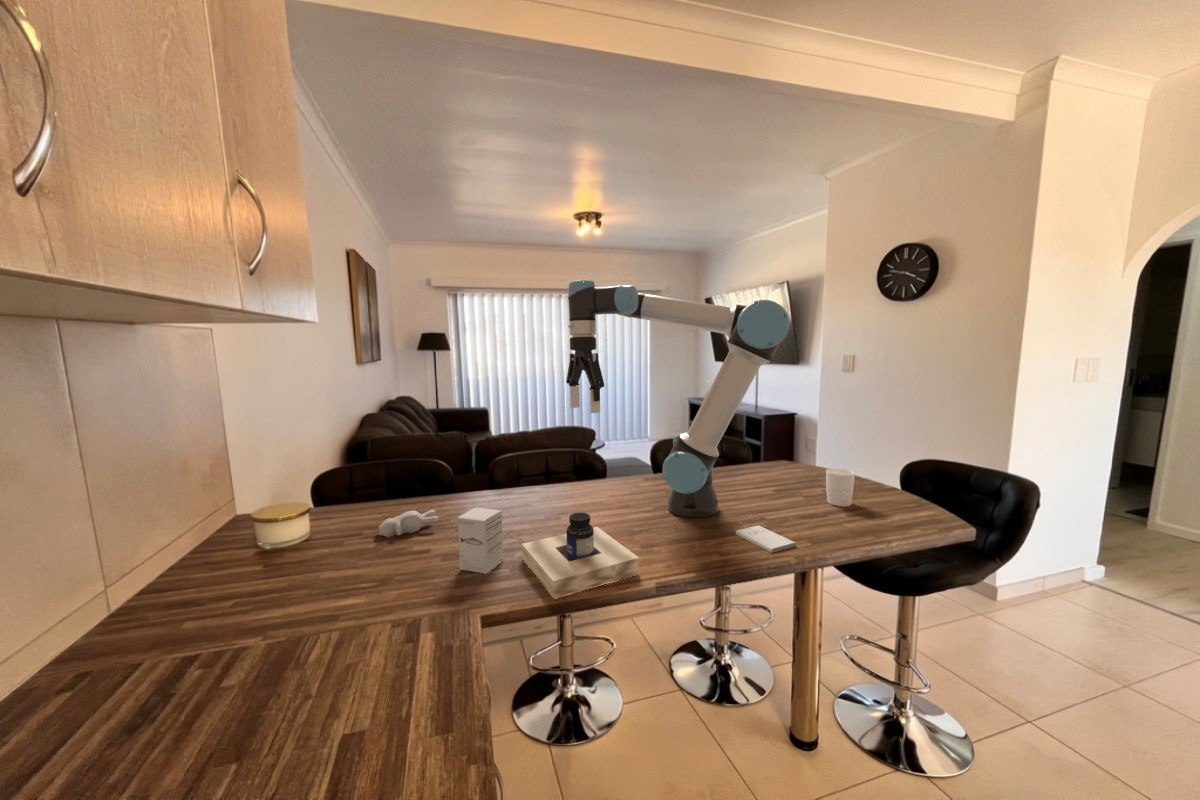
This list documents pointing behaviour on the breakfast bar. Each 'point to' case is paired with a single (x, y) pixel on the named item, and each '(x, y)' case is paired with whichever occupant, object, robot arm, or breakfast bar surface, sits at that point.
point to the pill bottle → (579, 537)
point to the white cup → (839, 486)
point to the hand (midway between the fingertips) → (584, 410)
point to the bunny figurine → (406, 523)
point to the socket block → (578, 563)
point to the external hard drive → (765, 538)
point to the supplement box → (480, 540)
